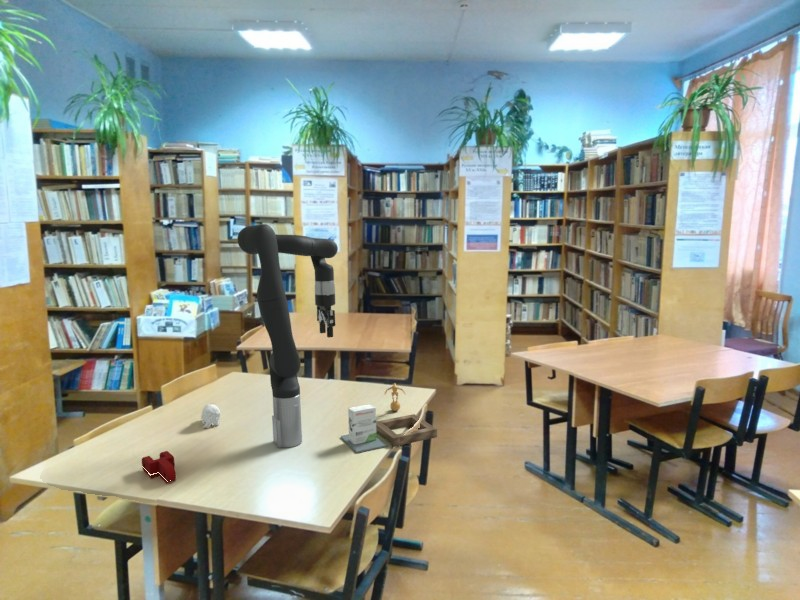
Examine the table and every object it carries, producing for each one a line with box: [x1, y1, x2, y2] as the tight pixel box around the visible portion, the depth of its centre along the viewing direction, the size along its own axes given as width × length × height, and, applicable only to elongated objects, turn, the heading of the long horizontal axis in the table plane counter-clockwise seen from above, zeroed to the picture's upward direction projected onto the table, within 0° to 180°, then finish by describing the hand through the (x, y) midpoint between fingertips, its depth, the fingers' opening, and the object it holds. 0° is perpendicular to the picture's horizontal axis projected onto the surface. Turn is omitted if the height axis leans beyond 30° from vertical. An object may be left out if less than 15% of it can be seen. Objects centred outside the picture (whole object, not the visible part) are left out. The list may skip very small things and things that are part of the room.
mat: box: [340, 433, 388, 454], centre depth 187 cm, size 11×15×1 cm
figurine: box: [384, 382, 406, 412], centre depth 216 cm, size 8×6×12 cm
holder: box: [376, 413, 438, 447], centre depth 194 cm, size 17×17×3 cm
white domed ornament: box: [200, 403, 221, 429], centre depth 206 cm, size 6×8×12 cm
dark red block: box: [141, 450, 177, 484], centre depth 164 cm, size 16×7×5 cm, turn 42°
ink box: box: [347, 404, 377, 445], centre depth 186 cm, size 9×5×12 cm, turn 117°
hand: (326, 335), depth 205 cm, fingers open, 8 cm apart
